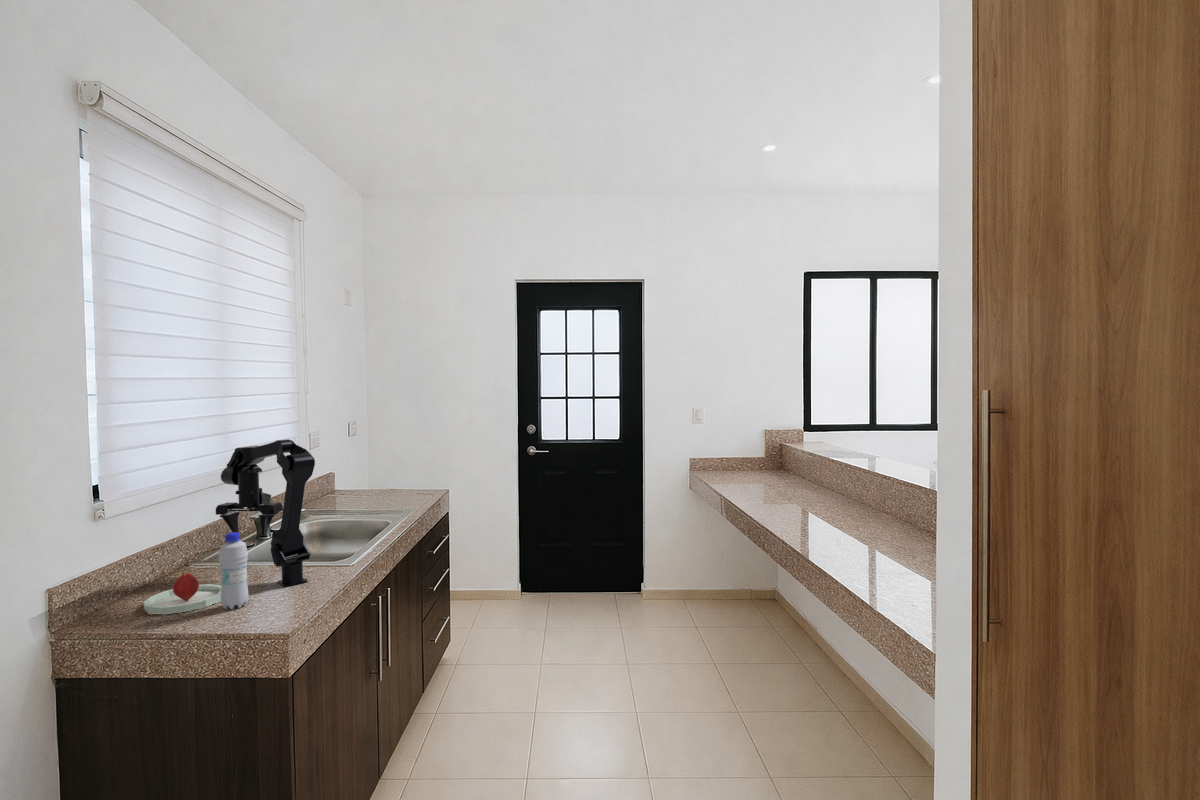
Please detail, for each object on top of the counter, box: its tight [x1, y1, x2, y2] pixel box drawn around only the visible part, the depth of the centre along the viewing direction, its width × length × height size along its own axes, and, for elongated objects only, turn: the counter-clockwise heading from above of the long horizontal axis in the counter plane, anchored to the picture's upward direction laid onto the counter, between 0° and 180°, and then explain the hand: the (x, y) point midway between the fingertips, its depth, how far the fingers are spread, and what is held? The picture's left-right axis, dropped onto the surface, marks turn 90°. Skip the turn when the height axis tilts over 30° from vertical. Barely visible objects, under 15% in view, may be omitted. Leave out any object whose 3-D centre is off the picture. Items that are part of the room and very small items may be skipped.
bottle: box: [218, 531, 249, 610], centre depth 163 cm, size 7×7×20 cm
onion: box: [172, 571, 200, 601], centre depth 167 cm, size 6×6×8 cm
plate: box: [143, 583, 222, 614], centre depth 167 cm, size 18×18×2 cm
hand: (250, 535), depth 193 cm, fingers open, 9 cm apart
